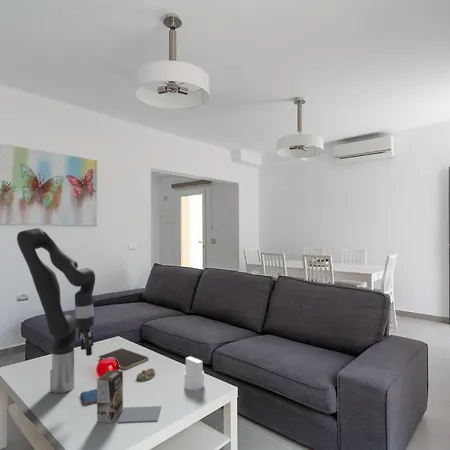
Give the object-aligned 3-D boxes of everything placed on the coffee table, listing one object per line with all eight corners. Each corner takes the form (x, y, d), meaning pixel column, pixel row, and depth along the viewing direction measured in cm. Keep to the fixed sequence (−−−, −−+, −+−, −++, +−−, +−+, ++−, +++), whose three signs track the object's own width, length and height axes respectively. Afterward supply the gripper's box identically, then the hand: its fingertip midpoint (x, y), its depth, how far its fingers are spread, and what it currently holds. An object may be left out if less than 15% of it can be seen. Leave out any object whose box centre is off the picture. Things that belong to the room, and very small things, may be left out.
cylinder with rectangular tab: (180, 385, 158) (180, 360, 158) (194, 379, 165) (194, 354, 165) (193, 392, 152) (193, 365, 152) (207, 385, 159) (207, 359, 159)
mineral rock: (145, 378, 161) (133, 370, 165) (143, 386, 162) (132, 378, 166) (160, 370, 170) (149, 363, 174) (159, 378, 171) (147, 371, 175)
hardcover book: (124, 370, 176) (124, 366, 176) (98, 360, 189) (98, 356, 189) (148, 360, 189) (148, 356, 189) (122, 351, 202) (122, 347, 202)
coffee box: (111, 423, 129) (111, 381, 128) (96, 421, 130) (96, 379, 130) (123, 410, 138) (123, 370, 137) (109, 408, 139) (108, 369, 139)
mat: (117, 422, 129) (117, 421, 129) (123, 408, 139) (123, 407, 139) (157, 421, 130) (157, 420, 130) (160, 407, 140) (160, 406, 140)
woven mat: (109, 400, 146) (109, 395, 146) (83, 407, 141) (83, 402, 141) (105, 390, 155) (105, 385, 155) (80, 396, 150) (80, 391, 150)
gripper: (71, 313, 150) (73, 349, 150) (79, 320, 139) (81, 359, 139) (89, 310, 154) (90, 345, 155) (98, 316, 143) (100, 354, 143)
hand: (86, 352), depth 147 cm, fingers open, 8 cm apart
